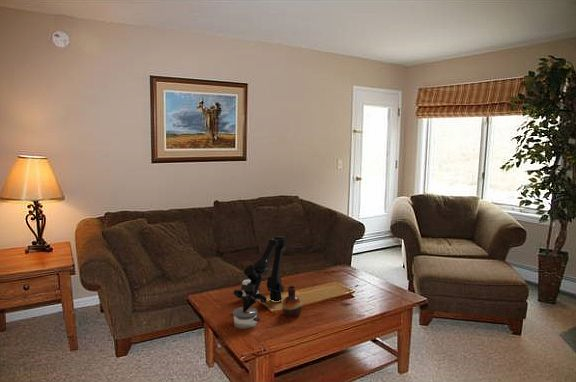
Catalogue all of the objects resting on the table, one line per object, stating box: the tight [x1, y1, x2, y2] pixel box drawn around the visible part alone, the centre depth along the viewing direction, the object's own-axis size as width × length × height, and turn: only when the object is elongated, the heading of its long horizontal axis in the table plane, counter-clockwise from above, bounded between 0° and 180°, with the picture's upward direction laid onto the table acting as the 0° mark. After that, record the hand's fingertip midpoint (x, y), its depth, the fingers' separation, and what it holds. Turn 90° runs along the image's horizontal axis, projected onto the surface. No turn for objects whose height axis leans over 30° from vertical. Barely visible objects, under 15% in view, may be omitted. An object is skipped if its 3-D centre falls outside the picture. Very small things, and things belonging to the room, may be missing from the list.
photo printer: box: [241, 279, 260, 302], centre depth 240 cm, size 10×4×12 cm, turn 72°
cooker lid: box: [232, 306, 258, 318], centre depth 209 cm, size 13×13×2 cm
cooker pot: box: [230, 311, 261, 330], centre depth 209 cm, size 12×17×5 cm
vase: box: [281, 285, 303, 318], centre depth 218 cm, size 11×11×15 cm
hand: (243, 311), depth 208 cm, fingers closed, pressing on cooker lid
